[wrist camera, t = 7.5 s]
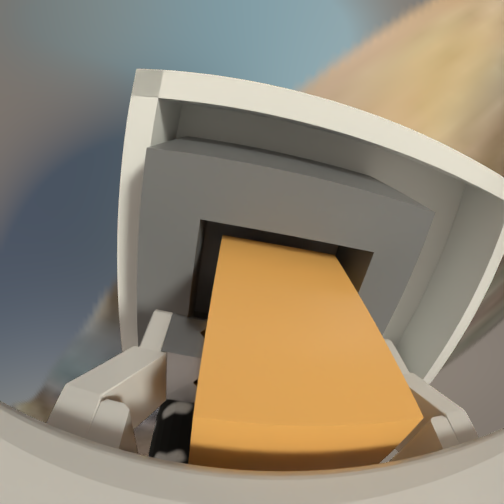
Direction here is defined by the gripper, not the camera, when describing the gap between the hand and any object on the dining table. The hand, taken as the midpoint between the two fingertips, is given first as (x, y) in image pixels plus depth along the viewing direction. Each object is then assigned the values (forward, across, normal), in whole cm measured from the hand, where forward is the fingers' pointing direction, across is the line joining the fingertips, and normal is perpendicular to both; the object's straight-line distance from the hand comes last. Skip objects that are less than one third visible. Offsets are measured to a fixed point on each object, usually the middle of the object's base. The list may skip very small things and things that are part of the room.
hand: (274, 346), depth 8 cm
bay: (+8, -3, 0) cm, 9 cm away
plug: (+3, 0, 0) cm, 3 cm away
